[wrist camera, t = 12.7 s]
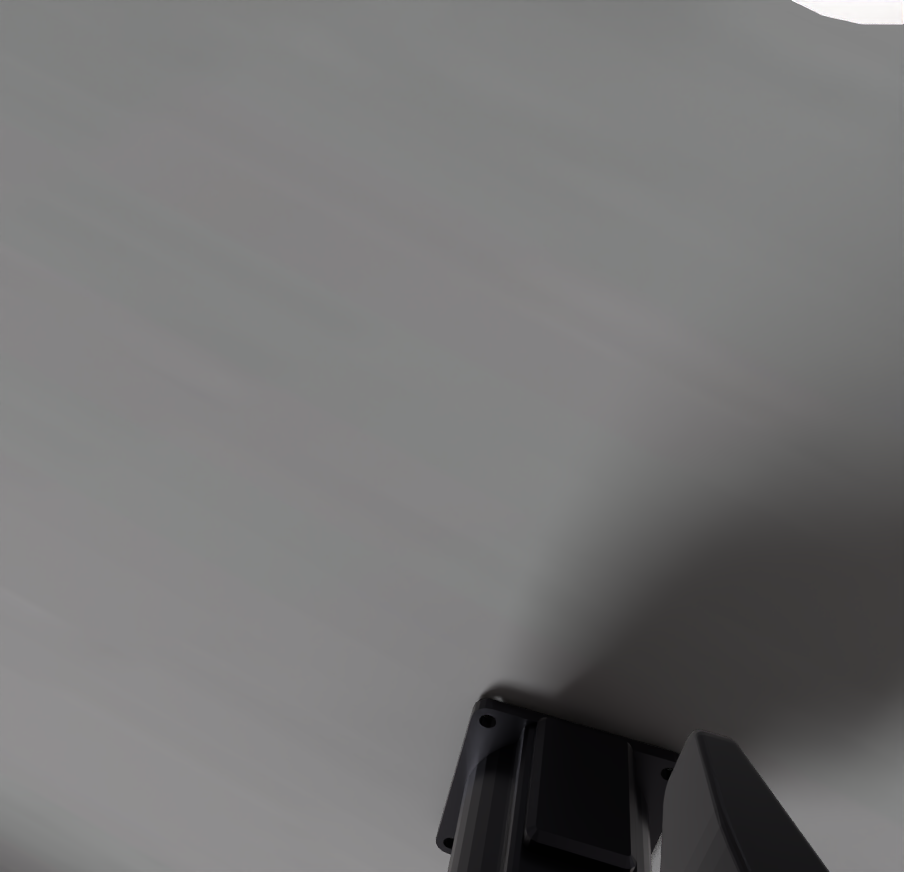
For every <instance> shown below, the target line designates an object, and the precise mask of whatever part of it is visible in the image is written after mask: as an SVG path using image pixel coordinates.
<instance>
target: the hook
mask: <svg viewBox="0 0 904 872" xmlns="http://www.w3.org/2000/svg"><path fill="white" fill-rule="evenodd" d="M792 1H794V2H796V3H798V4H800V5H802V6H804V7H806V8H808V9H810V10H812V11H815V12H817V13H819V14H821V15H823V16H828V17H832V18H836V19H841V20H845V21H850V22H854V23H858V24H904V0H792Z"/></svg>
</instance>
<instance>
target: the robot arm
mask: <svg viewBox="0 0 904 872" xmlns="http://www.w3.org/2000/svg"><path fill="white" fill-rule="evenodd" d="M483 715H491V716H493V717H494V718H487V717H485V716H483ZM665 768H673V770H665ZM661 832H662V846H661V868H660V872H829V870H828V869H827V868H826V866H825V865H824V863H823V862H822V861H821V859H820V858H819V857H818V855H817V854H816V852H815V851H814V850H813V848H812V847H811V845H810V844H809V843H808V841H807V840H806V839H805V837H804V836H803V834H802V833H801V832H800V830H799V829H798V828H797V826H796V825H795V823H794V822H793V821H792V819H791V818H790V816H789V815H788V814H787V812H786V811H785V810H784V808H783V807H782V805H781V804H780V803H779V801H778V800H777V799H776V797H775V796H774V794H773V793H772V792H771V790H770V789H769V787H768V786H767V785H766V783H765V782H764V781H763V779H762V778H761V776H760V775H759V774H758V772H757V771H756V770H755V768H754V767H753V765H752V764H751V763H750V761H749V760H748V758H747V757H746V756H745V754H744V753H743V752H742V750H741V749H740V747H739V746H738V745H737V744H736V743H735V742H734V741H733V740H732V739H730V738H728V737H725V736H722V735H718V734H715V733H711V732H708V731H704V730H700V729H698V730H695V731H693V732H692V733H691V734H690V735H689V737H688V738H687V740H686V743H685V745H684V747H683V749H682V751H681V754H678V753H676V752H673V751H669V750H666V749H663V748H659V747H656V746H652V745H649V744H645V743H642V742H638V741H635V740H631V739H628V738H625V737H621V736H618V735H614V734H611V733H607V732H604V731H600V730H597V729H593V728H590V727H586V726H583V725H580V724H576V723H573V722H569V721H566V720H562V719H559V718H555V717H552V716H548V715H545V714H541V713H538V712H535V711H531V710H528V709H524V708H521V707H517V706H514V705H510V704H507V703H503V702H500V701H496V700H493V699H482V700H480V701H478V702H476V704H475V705H474V707H473V710H472V714H471V717H470V721H469V724H468V728H467V731H466V735H465V738H464V742H463V745H462V749H461V752H460V755H459V759H458V762H457V766H456V769H455V773H454V776H453V780H452V783H451V787H450V790H449V794H448V797H447V801H446V804H445V808H444V811H443V814H442V818H441V821H440V825H439V828H438V833H437V837H436V844H437V846H438V848H440V849H441V850H442V851H444V852H446V853H448V854H451V857H450V862H449V867H448V872H652V865H651V854H652V852H653V850H654V847H655V845H656V843H657V841H658V839H659V837H660V835H661Z"/></svg>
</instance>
